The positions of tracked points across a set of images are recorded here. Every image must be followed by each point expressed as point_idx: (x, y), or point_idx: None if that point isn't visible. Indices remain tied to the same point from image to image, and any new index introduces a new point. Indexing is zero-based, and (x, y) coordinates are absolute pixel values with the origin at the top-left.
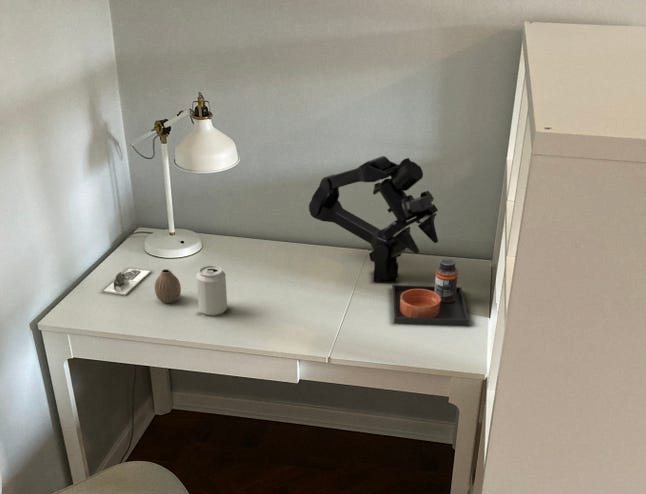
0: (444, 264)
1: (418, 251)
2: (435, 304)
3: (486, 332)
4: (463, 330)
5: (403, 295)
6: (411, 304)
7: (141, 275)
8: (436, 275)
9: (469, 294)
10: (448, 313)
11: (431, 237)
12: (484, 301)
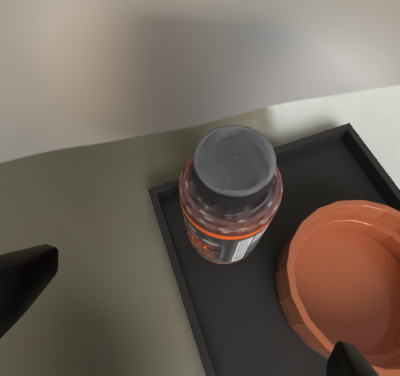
0: (275, 166)
1: (354, 346)
2: (385, 208)
3: (344, 94)
4: (371, 138)
5: (381, 367)
6: (328, 328)
7: None
8: (258, 232)
9: (155, 172)
10: (310, 193)
11: (8, 311)
12: (183, 130)
